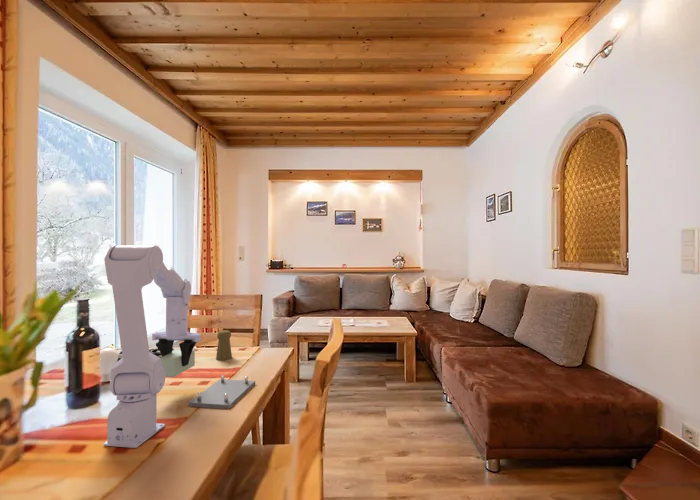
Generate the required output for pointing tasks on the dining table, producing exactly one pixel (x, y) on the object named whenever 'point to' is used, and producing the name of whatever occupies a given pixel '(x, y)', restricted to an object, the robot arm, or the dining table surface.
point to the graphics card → (153, 351)
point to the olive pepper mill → (224, 346)
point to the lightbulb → (107, 362)
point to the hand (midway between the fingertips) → (176, 364)
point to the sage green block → (176, 363)
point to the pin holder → (222, 393)
